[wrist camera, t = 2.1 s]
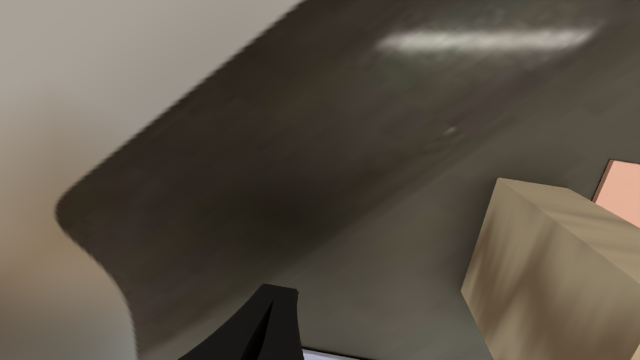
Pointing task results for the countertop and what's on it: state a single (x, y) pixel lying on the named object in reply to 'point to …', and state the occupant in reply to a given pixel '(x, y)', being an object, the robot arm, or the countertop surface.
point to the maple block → (554, 277)
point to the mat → (620, 190)
